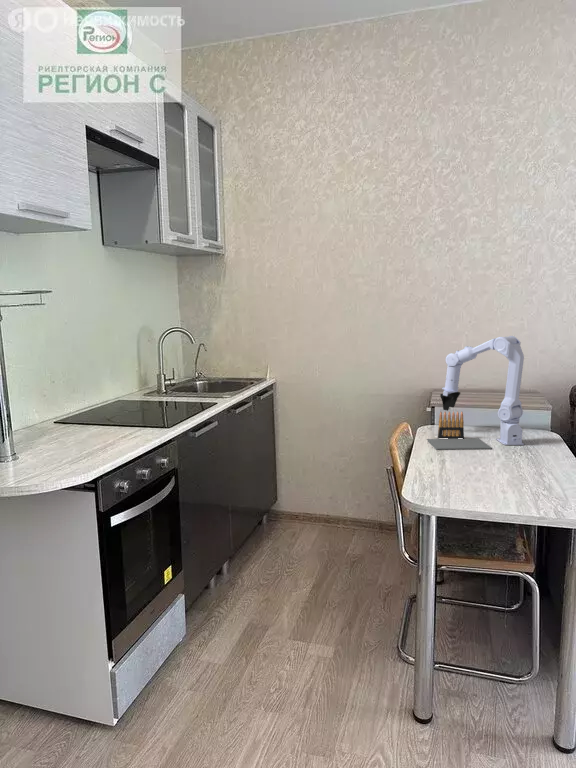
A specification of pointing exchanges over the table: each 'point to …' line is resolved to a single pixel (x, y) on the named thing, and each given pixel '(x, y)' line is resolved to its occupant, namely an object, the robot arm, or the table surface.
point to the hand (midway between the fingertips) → (448, 408)
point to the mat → (458, 444)
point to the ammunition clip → (451, 426)
